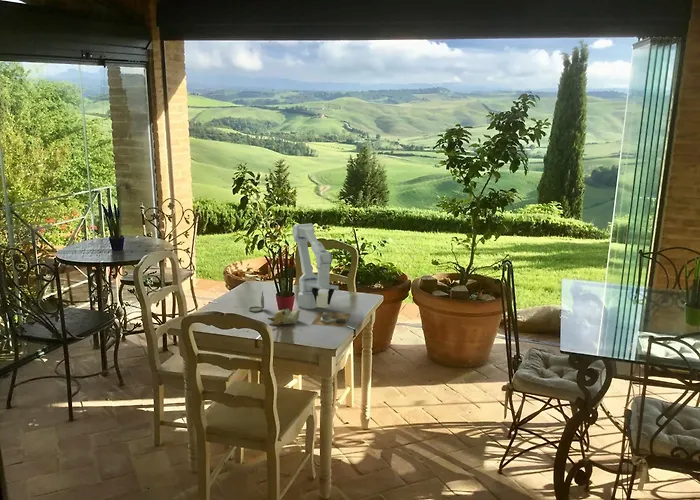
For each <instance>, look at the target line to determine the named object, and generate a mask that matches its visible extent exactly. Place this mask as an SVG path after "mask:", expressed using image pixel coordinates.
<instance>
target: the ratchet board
mask: <svg viewBox="0 0 700 500" xmlns="http://www.w3.org/2000/svg"><path fill="white" fill-rule="evenodd" d="M350 316H351V313H345V312H331V311H318V312H317V314H316V315H315V317H314V318H313V321H312V322H311V325H312V326H313V325H314V326H324V327H325V326H328V327H339V328H340V327H341V328H346V326H347V324H348V321H349V320H350V319H349V318H350Z"/></svg>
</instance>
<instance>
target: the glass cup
mask: <svg viewBox="0 0 700 500" xmlns="http://www.w3.org/2000/svg"><path fill="white" fill-rule="evenodd" d="M264 308H265V298H264V290H262V292H261V297H260V306H255V305H254V306H250V307H249V308H248V311H249V312H254V313H257V312H260V311H261V312H262V311H263V309H264Z"/></svg>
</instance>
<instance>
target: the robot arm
mask: <svg viewBox="0 0 700 500" xmlns="http://www.w3.org/2000/svg"><path fill="white" fill-rule="evenodd" d="M292 236H293V239H294V240H293V241H294V242H295V243H296V244H297V249H298V255H299V259H300V264H301V265H300V266H301V271H302V275H301V276H300V277H299V279H298V287H299V292H298V293H297V294H298V295H297V308H299V309H307V310H312V309H316V308H317V307H316V299H317V295H318V293H319V291H320V290H328V291H327V294H328V305H329V306H330V305H331V300H332V297H333V294H334V292H335V291H339V285H334V284H330V275H331V274H330V267H331V264H332V263H333V255H332V252H331V251H329V250H326V248H325V246H324V245H323V243H322V242H321V241H318V239H317V236H316V234H315V226H314V224H313V223H312V222H311V223H302V224H301V223H299V224H298V223H295V224H294V225H293V227H292ZM308 243H310V245H311V247H310V249H311V250H312V252H313V255H314V256H315V263H316V267H317V274H316V273H314V272H313V266H312V262H311V256H310V252H309V246H308Z"/></svg>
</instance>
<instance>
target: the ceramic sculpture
mask: <svg viewBox="0 0 700 500" xmlns="http://www.w3.org/2000/svg"><path fill="white" fill-rule="evenodd" d="M299 318H300V309H296V310H295V309H294V310H292V311H291V310H290V309H289V308H286V307H284V308H283V309H281V310H277V311H276V312H275V314H274V316H273V317H267V320H269V321H271V323H269V324H268V326H269V327H270V326H271V327H278V326H282V325H287V324H297V322H298V321H299Z"/></svg>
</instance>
